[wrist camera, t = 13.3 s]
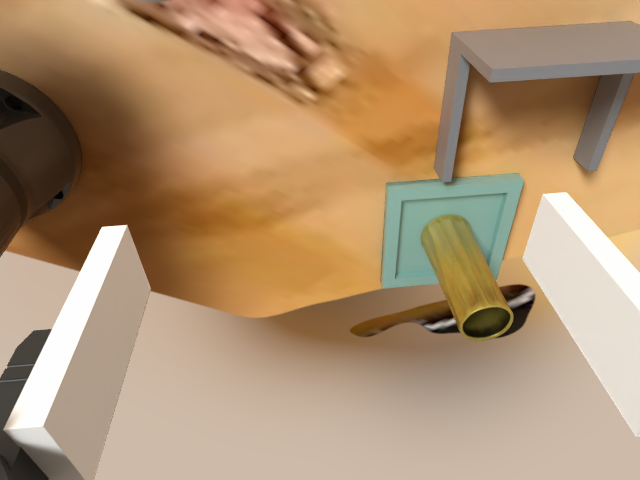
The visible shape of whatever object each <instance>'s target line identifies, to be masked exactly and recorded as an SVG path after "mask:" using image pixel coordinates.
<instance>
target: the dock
mask: <svg viewBox="0 0 640 480" xmlns="http://www.w3.org/2000/svg"><path fill="white" fill-rule="evenodd" d="M470 64H471V65H472V66H473V67H474V68H475V69H476V70H477V71H478V72H480V73H481V74H482V75H483V76H484V77H485V78H486V79H487V80H488V81H489V82H490V83H492V82H507V81H522V80H537V79H552V78H566V77H581V76H596V75H601V78H600V81H599V84H598V87H597V89H596V92H595V95H594V98H593V101H592V104H591V107H590V110H589V113H588V116H587V119H586V122H585V124H584V127H583V130H582V133H581V136H580V139H579V142H578V145H577V148H576V151H575V154H574V157H573V158H574V159H575V160H576V161H577V162H578V163H579V164H580V165H581V166H582V167H583V168H584V169H586V170H587V171H597V169H598V166H599V163H600V161H601V158H602V156H603V153H604V150H605V148H606V145H607V143H608V140H609V137H610V135H611V132H612V130H613V127H614V124H615V122H616V119H617V117H618V114H619V111H620V109H621V106H622V104H623V101H624V99H625V96H626V93H627V91H628V88H629V86H630V83H631V80H632V78H633V75H634V73H640V25H638V24H636V23H634V22H631V21H623V22H607V23H592V24H576V25H560V26H544V27H528V28H512V29H496V30H480V31H464V32H452V36H451V43H450V51H449V58H448V66H447V73H446V81H445V89H444V96H443V104H442V111H441V119H440V126H439V134H438V141H437V149H436V157H435V164H434V169H435V171H436V172H437V174H438V176H439V178H440V180H441V182H451V179H452V173H453V167H454V161H455V155H456V148H457V142H458V136H459V130H460V124H461V118H462V111H463V105H464V99H465V93H466V87H467V81H468V74H469V68H470Z"/></svg>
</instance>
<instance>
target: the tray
mask: <svg viewBox="0 0 640 480" xmlns="http://www.w3.org/2000/svg"><path fill="white" fill-rule="evenodd" d="M523 183H524V179H523V178H522V177H521V176H520V174H519V173H514V174H501V175H487V176H474V177H460V178H452V179H451V182H441V180H440V179H433V180H420V181H406V182H393V183H386V196H385V213H384V230H383V246H382V263H381V280H380V281H381V285H382V288H383V289H384V288H396V287H408V286H420V285H432V284H440V283H439V281H438V279H437V277H436V274H435V272H434V270H433V268H432V266H431V264H430V261H429V259H428V257H427V255H426V253H425V250H424V248H423V247H422V245H421V233H422V231H423V229H424V228H425V226H426V225H427V224H428V223H429V222H431V221H432V220H433V219H435V218H437V217H440V216H443V215H458V216H461V217H463V218H465V219H466V220H467V221H468V222H469V224H470V227H471V230H472V232H473V234H474V236H475V239H476V241H477V243H478V245H479V247H480V250H481V252H482V254H483V256H484V259H485V261H486V263H487V265H488V267H489V269H490V271H491V273H492V275H493V277H494V279H497V277H498V273H499V269H500V265H501V262H502V259H503V255H504V251H505V248H506V244H507V241H508V237H509V233H510V230H511V226H512V223H513V219H514V215H515V212H516V208H517V205H518V201H519V197H520V194H521V190H522V186H523Z"/></svg>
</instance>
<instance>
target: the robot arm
mask: <svg viewBox="0 0 640 480" xmlns="http://www.w3.org/2000/svg"><path fill="white" fill-rule="evenodd" d="M81 165H82V156H81V149H80V145H79V142H78V139H77V136H76V134H75V132H74V130H73V128H72V126H71V125H70V123H69V121H68V120H67V119H66V117H65V116H64V114H63V113H62V112H61V111H60V110H59V109H58V107H57V106H56V105H55V104H54V103H53V102H52V101H51V100H50V99H48V98H47V97H46V96H45V95H44V94H43V93H41V92H40V91H39V90H37V89H36V88H34V87H33V86H31V85H30V84H28V83H27V82H25V81H23V80H21V79H20V78H18V77H16V76H14V75H11V74H9V73H7V72H4V71H1V70H0V257H1V255H2V254H3V252H4V251H5V250H6V248H7V247H8V245H9V244H10V242H11V241H12V239H13V238H14V236H15V235H16V233H17V232H18V231H19V229H20V228H21V226H23V225H25V224H27V223H29V222H30V221H32V220H34V219H36V218H38V217H39V216H41V215H43V214H45V213H47V212H49V211H50V210H52V209H54V208H55V207H57V206H58V205H59V204H60V203H61V202H62V201H63V200H64V199H65V198H66V197H67V196H68V194H69V193H70V191H71V190H72V188H73V187H74V185H75V184H76V182H77V180H78V178H79V175H80V171H81ZM523 261H524V262H525V264H526V265H527V267H528V268H529V270H530V272H531V273H532V275H533V276H534V278H535V280H536V281H537V283H538V284H539V286H540V287H541V289H542V291H543V292H544V294H545V295H546V297H547V298H548V300H549V302H550V303H551V305H552V306H553V308H554V309H555V311H556V312H557V314H558V316H559V317H560V319H561V320H562V322H563V324H564V325H565V327H566V328H567V330H568V331H569V333H570V335H571V336H572V337H573V339H574V340H575V342H576V344H577V345H578V347H579V349H580V350H581V352H582V353H583V355H584V356H585V358H586V360H587V361H588V363H589V364H590V366H591V367H592V369H593V371H594V372H595V374H596V375H597V377H598V378H599V380H600V382H601V383H602V385H603V386H604V388H605V389H606V391H607V393H608V394H609V396H610V397H611V399H612V400H613V402H614V404H615V405H616V407H617V408H618V410H619V411H620V413H621V414H622V416H623V418H624V419H625V421H626V422H627V424H628V425H629V427H630V428H631V430H632V432H633V433H634V435H635V436H636V437H638V436H640V273H639V272H638V271H637V270H636V269H635V267H634V266H633V265H632V264H631V263H630V262H629V261H628V260H627V259H626V258H625V256H624V255H623V254H622V253H621V252H620V251H619V250H618V249H617V248H616V247H615V245H614V244H613V243H612V242H611V241H610V240H609V239H608V238H607V237H606V235H605V234H604V233H603V232H602V231H601V230H600V229H599V228H598V227H597V226H596V224H595V223H594V222H593V221H592V220H591V219H590V218H589V217H588V216H587V215H586V213H585V212H584V211H583V210H582V209H581V208H580V207H579V206H578V205H577V203H576V202H575V201H574V200H573V199H572V198H571V197H570V196H569V195H568V194H567V192H564V193H550V194H543V195H542V199H541V202H540V205H539V208H538V211H537V214H536V218H535V221H534V224H533V227H532V230H531V233H530V237H529V240H528V243H527V246H526V249H525V252H524V256H523ZM150 290H151V287H150V285H149V282H148V279H147V277H146V274H145V271H144V269H143V266H142V263H141V261H140V258H139V255H138V253H137V250H136V247H135V245H134V242H133V239H132V237H131V234H130V231H129V229H128V226H127V225H120V226H107V227H102V228H101V230H100V232H99V234H98V236H97V238H96V240H95V242H94V244H93V246H92V249H91V251H90V253H89V255H88V257H87V259H86V261H85V263H84V265H83V267H82V269H81V271H80V273H79V276H78V277H77V280H76V281H75V283H74V286H73V288H72V290H71V292H70V294H69V296H68V298H67V300H66V302H65V304H64V306H63V308H62V311H61V312H60V314H59V317H58V318H57V321H56V322H55V325H54V327H53V329H48V330H36V331H33V332H32V333H31V334H30V335H29V336H28V337H27V338H26V339H25V340H24V341H23V342H22V343H21V344H20V345H19V346H18V347H17V348H16V350H15V352H14V354H13V356H12V358H11V359H10V362H9V363H8V365H7V366H8V368H7V369H5V371H4V373H3V374H2V376H1V378H0V480H94V478H95V475H96V471H97V468H98V465H99V461H100V458H101V454H102V451H103V447H104V445H105V441H106V438H107V434H108V431H109V428H110V424H111V421H112V417H113V414H114V411H115V407H116V404H117V401H118V397H119V394H120V391H121V387H122V384H123V381H124V377H125V374H126V371H127V367H128V364H129V361H130V357H131V354H132V351H133V347H134V344H135V340H136V337H137V334H138V330H139V327H140V324H141V320H142V317H143V314H144V310H145V307H146V304H147V300H148V297H149V293H150Z"/></svg>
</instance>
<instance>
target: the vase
mask: <svg viewBox="0 0 640 480" xmlns="http://www.w3.org/2000/svg"><path fill="white" fill-rule="evenodd" d="M421 245H422V247H423V248H424V250H425V253H426V255H427V257H428V259H429V261H430V264H431V266H432V268H433V270H434V272H435V274H436V277H437V279H438V281H439V283H440V285H441V288H442V290H443V292H444V294H445V297H446V299H447V301H448V304H449V306H450V309H451V311H452V314H453V316H454V319H455V321H456V324H457V326H458V329H459V331H460V332H461V334H462V335H463V336H464V337H465V338H467V339H470V340H474V341H484V340H489V339H493V338H495V337H498V336H500V335H501V334H503V333H504V332H506V331H507V330H508V329H509V327H510V326H511V324H512V322H513V313H512V311H511V309H510V308H509V306H508V304H507V302H506V300H505V298H504V296H503V295H502V293H501V291H500V289H499V287H498V285H497V283H496V281H495V279H494V277H493V275H492V273H491V271H490V269H489V267H488V265H487V263H486V261H485V259H484V256H483V254H482V252H481V250H480V247H479V245H478V243H477V241H476V239H475V236H474V234H473V232H472V230H471V227H470V224H469V222H468V221H467V220H466V219H465V218H463V217H461V216H458V215H443V216H440V217H437V218H435V219H433V220H432V221H431V222H429V223H428V224H427V225H426V226H425V228H424V229H423V231H422V233H421Z"/></svg>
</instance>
